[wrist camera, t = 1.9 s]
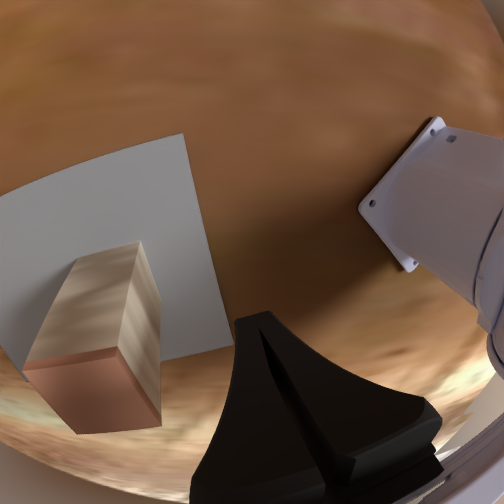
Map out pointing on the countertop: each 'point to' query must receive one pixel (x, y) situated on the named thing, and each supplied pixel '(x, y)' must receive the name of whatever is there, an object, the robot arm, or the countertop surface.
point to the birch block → (102, 345)
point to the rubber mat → (111, 244)
